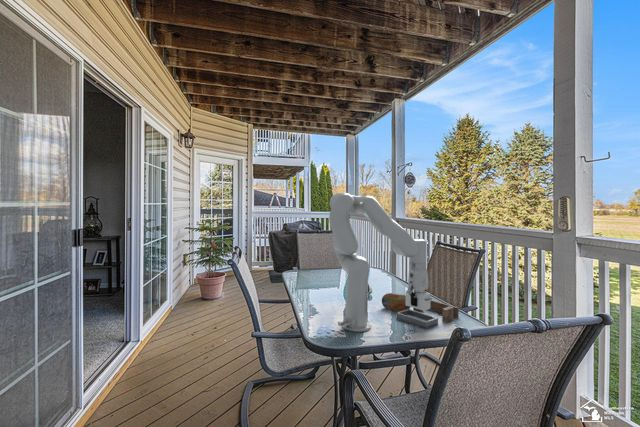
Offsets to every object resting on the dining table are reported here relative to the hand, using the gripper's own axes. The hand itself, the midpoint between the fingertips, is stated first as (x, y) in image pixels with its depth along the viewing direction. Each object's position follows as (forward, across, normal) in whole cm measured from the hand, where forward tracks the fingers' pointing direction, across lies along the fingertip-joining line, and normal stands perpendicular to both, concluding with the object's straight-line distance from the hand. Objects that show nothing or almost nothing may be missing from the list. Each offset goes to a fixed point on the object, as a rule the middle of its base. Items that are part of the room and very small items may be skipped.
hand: (417, 304), depth 145 cm
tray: (+8, 0, 0) cm, 8 cm away
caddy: (+1, 0, 0) cm, 1 cm away
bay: (+8, +15, 0) cm, 17 cm away
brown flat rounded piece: (+9, +6, +17) cm, 20 cm away
